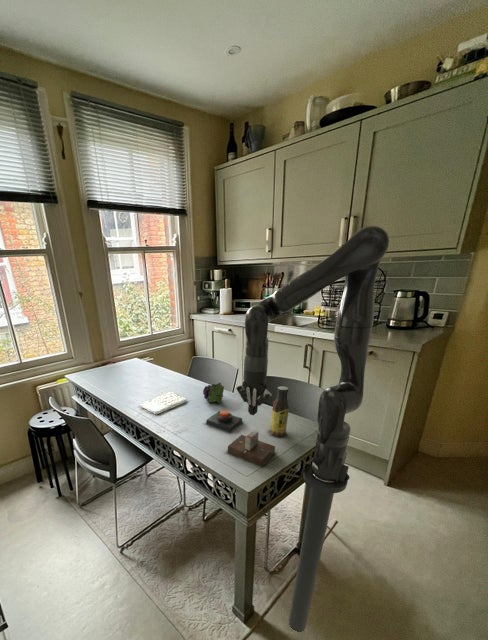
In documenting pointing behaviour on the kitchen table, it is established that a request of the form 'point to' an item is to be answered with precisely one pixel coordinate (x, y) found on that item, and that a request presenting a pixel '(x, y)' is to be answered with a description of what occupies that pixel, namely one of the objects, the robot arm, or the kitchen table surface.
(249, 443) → the tap lever
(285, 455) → the kitchen table surface
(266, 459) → the base
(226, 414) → the button
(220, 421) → the push button box
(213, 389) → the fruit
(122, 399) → the kitchen table surface
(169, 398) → the calculator
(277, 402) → the sauce bottle
